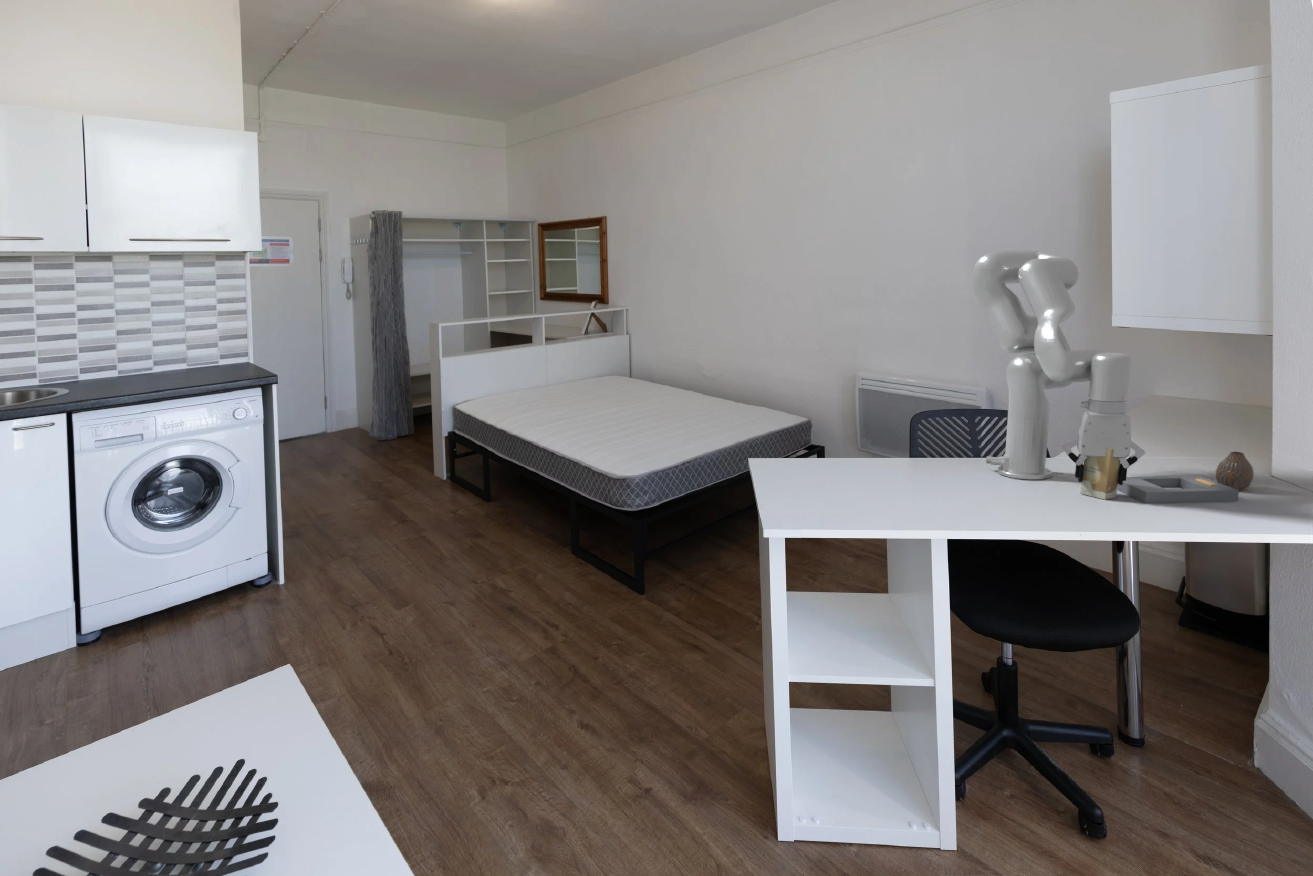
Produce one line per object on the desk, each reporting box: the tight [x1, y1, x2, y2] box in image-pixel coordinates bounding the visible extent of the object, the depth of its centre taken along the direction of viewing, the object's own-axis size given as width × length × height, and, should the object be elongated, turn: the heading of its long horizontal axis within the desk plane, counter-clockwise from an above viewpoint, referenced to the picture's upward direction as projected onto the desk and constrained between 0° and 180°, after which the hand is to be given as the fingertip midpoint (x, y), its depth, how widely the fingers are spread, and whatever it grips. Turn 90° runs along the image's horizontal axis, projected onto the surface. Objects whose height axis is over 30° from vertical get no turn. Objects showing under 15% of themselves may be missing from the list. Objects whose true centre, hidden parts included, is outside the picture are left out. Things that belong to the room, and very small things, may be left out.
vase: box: [1215, 451, 1255, 492], centre depth 168 cm, size 7×7×9 cm
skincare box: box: [1079, 448, 1121, 501], centre depth 165 cm, size 6×4×12 cm
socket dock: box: [1117, 475, 1240, 504], centre depth 166 cm, size 20×13×3 cm, turn 88°
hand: (1099, 481), depth 166 cm, fingers closed on skincare box, 7 cm apart
